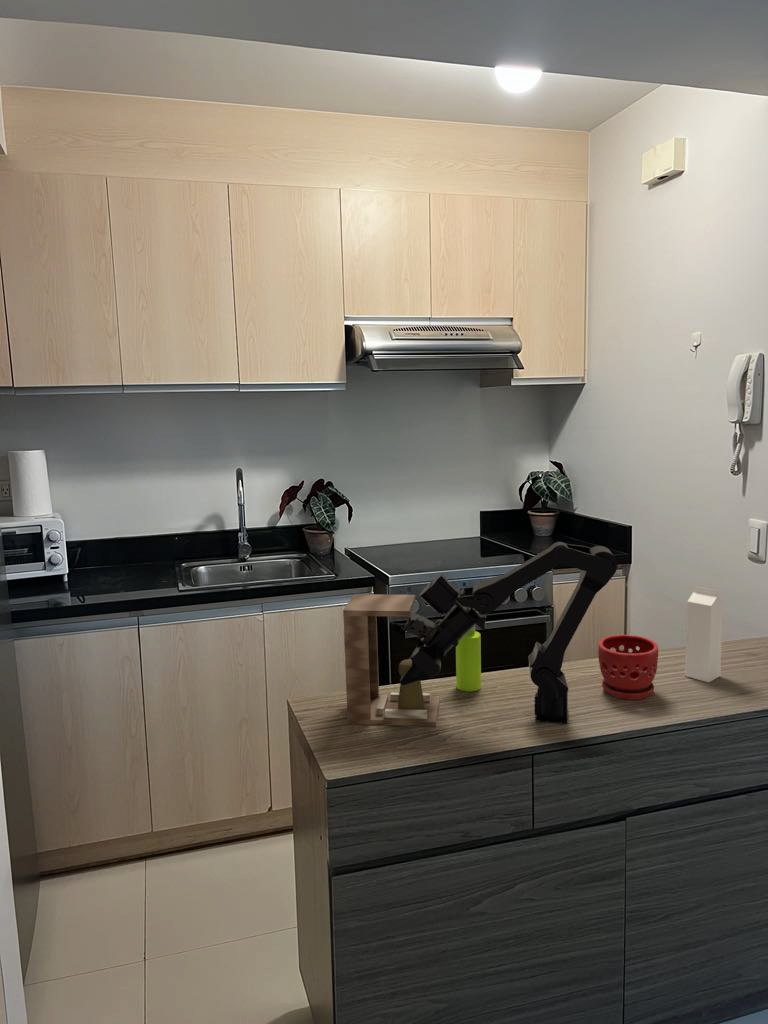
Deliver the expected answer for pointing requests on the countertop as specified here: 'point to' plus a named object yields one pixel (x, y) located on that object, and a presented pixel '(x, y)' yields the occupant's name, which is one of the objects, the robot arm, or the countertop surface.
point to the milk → (704, 634)
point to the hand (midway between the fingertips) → (403, 675)
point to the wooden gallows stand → (376, 664)
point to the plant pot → (628, 666)
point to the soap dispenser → (469, 662)
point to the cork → (410, 691)
